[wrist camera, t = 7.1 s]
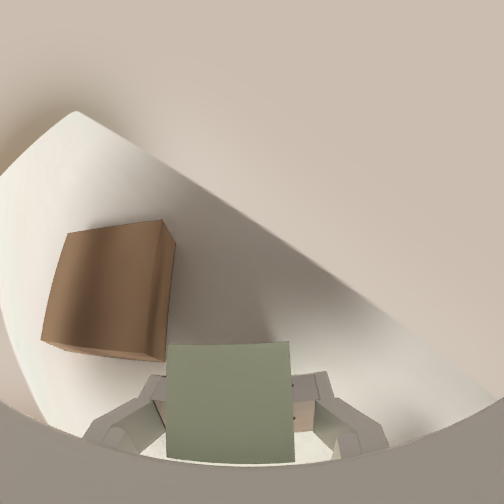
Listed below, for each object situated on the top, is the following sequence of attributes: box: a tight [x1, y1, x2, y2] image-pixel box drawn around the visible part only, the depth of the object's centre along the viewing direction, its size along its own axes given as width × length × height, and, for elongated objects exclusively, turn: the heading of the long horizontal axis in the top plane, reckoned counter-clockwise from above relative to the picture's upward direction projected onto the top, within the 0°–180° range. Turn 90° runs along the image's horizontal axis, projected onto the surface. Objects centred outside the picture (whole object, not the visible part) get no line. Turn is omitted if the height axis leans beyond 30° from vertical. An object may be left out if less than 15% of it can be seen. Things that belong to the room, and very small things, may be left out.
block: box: [166, 341, 295, 464], centre depth 11 cm, size 4×4×8 cm
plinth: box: [41, 220, 176, 362], centre depth 17 cm, size 9×9×3 cm
